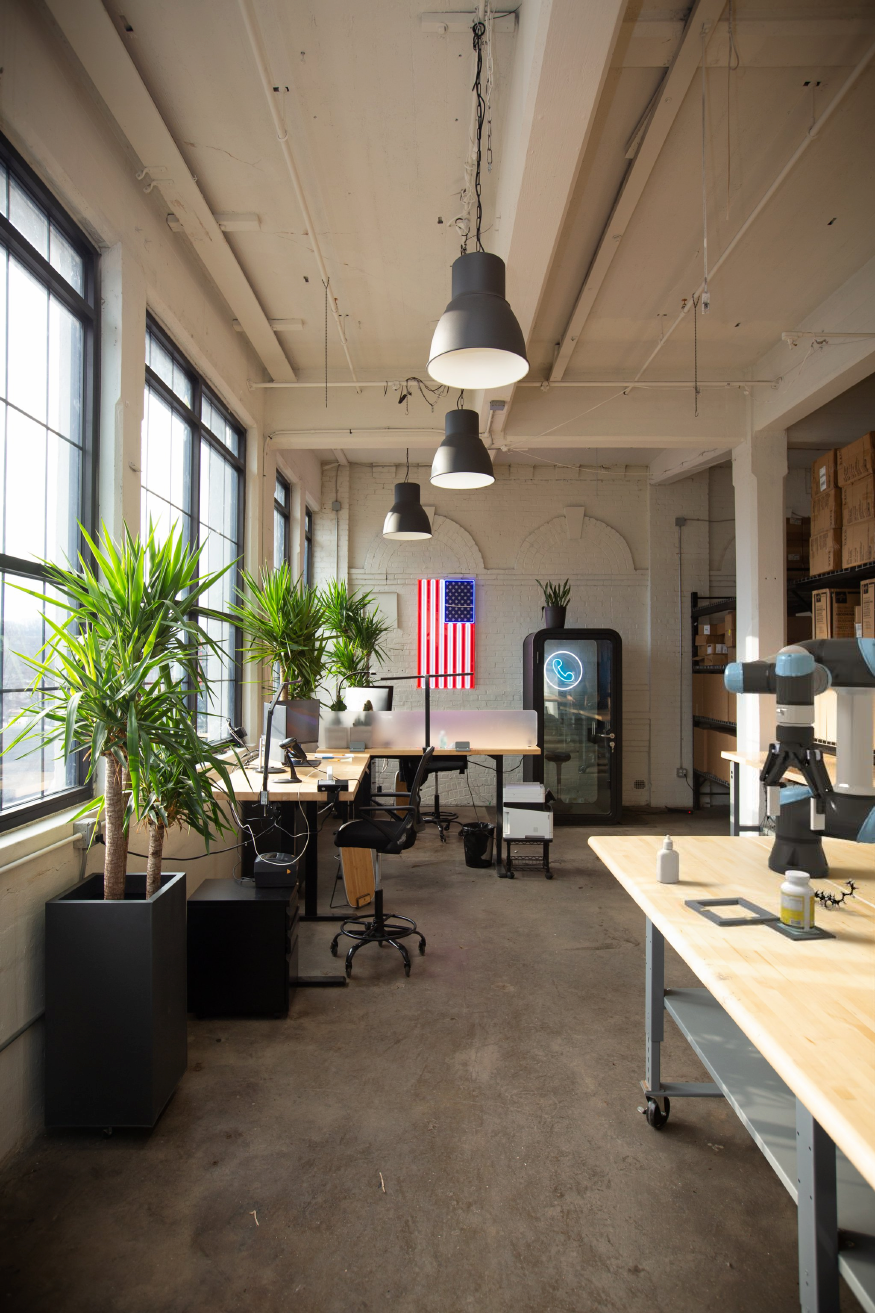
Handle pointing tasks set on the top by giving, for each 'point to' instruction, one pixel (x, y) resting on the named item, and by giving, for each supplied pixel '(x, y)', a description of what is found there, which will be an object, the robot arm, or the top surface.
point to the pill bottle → (797, 902)
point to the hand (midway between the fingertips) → (794, 822)
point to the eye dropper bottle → (667, 863)
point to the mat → (795, 935)
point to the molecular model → (834, 895)
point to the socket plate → (763, 916)
